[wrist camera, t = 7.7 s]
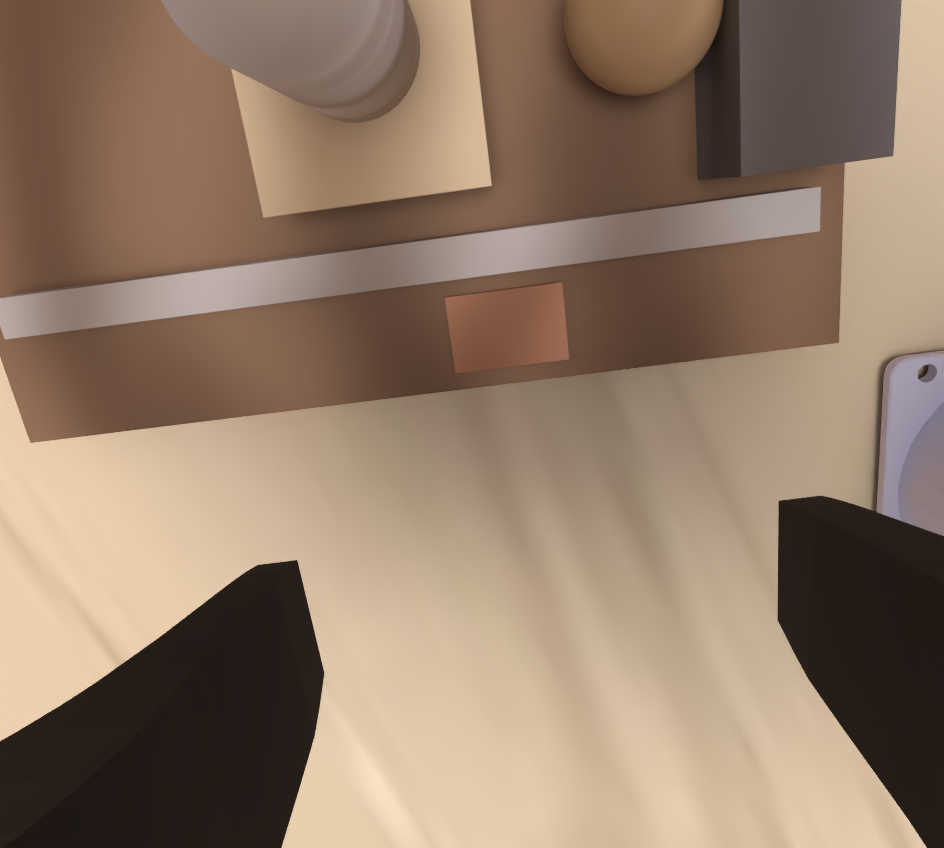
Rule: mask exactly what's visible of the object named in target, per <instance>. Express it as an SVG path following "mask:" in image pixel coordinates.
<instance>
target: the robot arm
mask: <svg viewBox="0 0 944 848" xmlns="http://www.w3.org/2000/svg"><path fill="white" fill-rule="evenodd" d="M927 364H928V372H927V374H926V375H925V376H924V377H923V378H920V379H918V375H917V374H918V372H919V369H920V368H921V367H922V366H924V365H927ZM778 622H779V624H780V626H781V628H782V630H783V632H784V633H785V635H786V637H787V639H788V641H789V643H790V645H791V647H792V649H793V651H794V653H795V655H796V657H797V659H798V661H799V662H800V664H801V666H802V668H803V670H804V672H805V674H806V675H807V677H808V679H809V680H810V682H811V683H812V685H813V686H814V688H815V689H816V691H817V692H818V694H819V695H820V696H821V698H822V699H823V701H824V702H825V703H826V705H827V706H828V708H829V709H830V711H831V712H832V713H833V715H834V716H835V718H836V719H837V721H838V722H839V723H840V725H841V726H842V728H843V729H844V730H845V732H846V733H847V735H848V736H849V737H850V739H851V740H852V742H853V743H854V744H855V746H856V747H857V748H858V750H859V751H860V753H861V754H862V755H863V757H864V758H865V760H866V761H867V762H868V764H869V765H870V767H871V768H872V769H873V771H874V772H875V774H876V775H877V776H878V778H879V779H880V781H881V782H882V783H883V785H884V786H885V788H886V789H887V790H888V792H889V793H890V794H891V796H892V797H893V799H894V800H895V801H896V803H897V804H898V806H899V807H900V808H901V810H902V811H903V813H904V814H905V815H906V817H907V818H908V820H909V821H910V823H911V824H912V826H913V827H914V829H915V830H916V832H917V833H918V835H919V836H920V838H921V839H922V841H923V842H924V844H925V845H926V847H927V848H944V351H936V352H928V353H920V354H911V355H903V356H900V357H897V358H895V359H893V360H892V361H891V362H890V363H889V364H888V365H887V367H886V369H885V372H884V382H883V400H882V419H881V438H880V456H879V475H878V494H877V512H875V511H872V510H869V509H866V508H863V507H860V506H857V505H854V504H851V503H847V502H844V501H841V500H837V499H833V498H829V497H824V496H815V497H807V498H798V499H790V500H782V501H779V534H778ZM323 679H324V670H323V666H322V662H321V658H320V653H319V649H318V645H317V641H316V637H315V633H314V628H313V624H312V620H311V616H310V612H309V607H308V603H307V599H306V595H305V591H304V587H303V582H302V578H301V574H300V570H299V566H298V562H297V560H295V561H287V562H279V563H271V564H263V565H257V566H255V567H254V568H252V569H250V570H249V571H247V572H245V573H244V574H243V575H241V576H240V577H238V578H237V579H235V580H234V581H233V582H231V583H230V584H229V585H227V586H226V587H225V588H223V589H222V590H221V591H219V592H218V593H217V594H215V595H214V596H213V597H212V598H210V599H209V600H208V601H206V602H205V603H204V604H203V605H201V606H200V607H199V608H197V609H196V610H195V611H193V612H192V613H191V614H189V615H188V616H187V617H186V618H184V619H183V620H182V621H180V622H179V623H178V624H176V625H175V626H174V627H172V628H171V629H170V630H169V631H167V632H166V633H165V634H163V635H162V636H161V637H159V638H158V639H157V640H155V641H154V642H152V643H151V644H150V645H148V646H147V647H145V648H144V649H143V650H141V651H140V652H138V653H137V654H136V655H134V656H133V657H131V658H130V659H129V660H127V661H126V662H124V663H123V664H122V665H120V666H119V667H117V668H116V669H114V670H113V671H112V672H110V673H109V674H107V675H106V676H105V677H103V678H102V679H100V680H99V681H98V682H96V683H95V684H93V685H92V686H90V687H89V688H87V689H86V690H84V691H83V692H81V693H79V694H78V695H76V696H75V697H73V698H72V699H70V700H69V701H67V702H65V703H64V704H62V705H61V706H59V707H57V708H56V709H54V710H52V711H51V712H49V713H47V714H46V715H44V716H43V717H41V718H39V719H38V720H36V721H34V722H33V723H31V724H29V725H28V726H26V727H24V728H23V729H21V730H19V731H18V732H16V733H14V734H12V735H11V736H9V737H7V738H5V739H4V740H2V741H0V848H281V847H282V844H283V840H284V837H285V834H286V830H287V827H288V824H289V821H290V817H291V814H292V811H293V807H294V804H295V801H296V797H297V794H298V791H299V788H300V784H301V781H302V777H303V774H304V771H305V767H306V764H307V760H308V757H309V753H310V750H311V746H312V743H313V739H314V736H315V730H316V724H317V719H318V713H319V707H320V700H321V693H322V686H323Z"/></svg>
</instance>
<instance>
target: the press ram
mask: <svg viewBox="0 0 944 848" xmlns="http://www.w3.org/2000/svg"><path fill="white" fill-rule="evenodd" d="M161 1H162V3H163V4H164V6H165V8H166V10H167V12H168V13H169V15H170V16H171V18H172V19H173V21H174V22H175V24H176V25H177V26H178V28H179V29H180V30H181V31H182V32H183V33H184V35H185V36H186V37H187V38H188V39H189V40H190V41H191V42H192V43H193V44H194V45H196V46H197V47H198V48H199V49H200V50H201V51H202V52H204V53H205V54H207V55H208V56H210V57H211V58H213V59H214V60H216V61H217V62H219V63H221V64H223V65H225V66H227V67H229V68H231V70H232V75H233V79H234V84H235V88H236V93H237V98H238V102H239V107H240V112H241V116H242V121H243V125H244V130H245V135H246V139H247V144H248V148H249V153H250V158H251V162H252V167H253V172H254V176H255V181H256V185H257V190H258V195H259V199H260V204H261V208H262V213H263V218H265V217H274V216H284V215H292V214H299V213H306V212H313V211H320V210H327V209H335V208H342V207H349V206H356V205H363V204H370V203H377V202H385V201H392V200H399V199H406V198H413V197H420V196H427V195H435V194H442V193H449V192H456V191H463V190H470V189H478V188H485V187H491V186H492V183H491V175H490V166H489V157H488V149H487V140H486V132H485V123H484V115H483V106H482V98H481V89H480V81H479V72H478V63H477V55H476V46H475V38H474V29H473V21H472V12H471V4H470V0H161Z"/></svg>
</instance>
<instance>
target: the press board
mask: <svg viewBox="0 0 944 848" xmlns="http://www.w3.org/2000/svg"><path fill="white" fill-rule="evenodd" d="M470 4H471V12H472V21H473V29H474V38H475V46H476V55H477V63H478V72H479V81H480V89H481V98H482V106H483V115H484V123H485V132H486V140H487V149H488V157H489V166H490V175H491V183H492V186H491V187H485V188H478V189H470V190H463V191H456V192H449V193H442V194H435V195H427V196H420V197H413V198H406V199H399V200H392V201H385V202H377V203H370V204H363V205H356V206H349V207H342V208H335V209H327V210H320V211H313V212H306V213H299V214H292V215H284V216H274V217H265V218H263V213H262V208H261V204H260V199H259V195H258V190H257V185H256V181H255V176H254V172H253V167H252V162H251V158H250V153H249V148H248V144H247V139H246V135H245V130H244V125H243V121H242V116H241V112H240V107H239V102H238V98H237V93H236V88H235V84H234V79H233V75H232V70H231V68H229V67H227V66H225V65H223V64H221V63H219V62H217V61H216V60H214V59H213V58H211V57H210V56H208V55H207V54H205V53H204V52H202V51H201V50H200V49H199V48H198V47H197V46H196V45H194V44H193V43H192V42H191V41H190V40H189V39H188V38H187V37H186V36H185V35H184V33H183V32H182V31H181V30H180V29H179V28H178V26H177V25H176V24H175V22H174V21H173V19H172V18H171V16H170V15H169V13H168V12H167V10H166V8H165V6H164V4H163V3H162V1H161V0H0V357H1V360H2V363H3V366H4V369H5V371H6V374H7V377H8V380H9V383H10V386H11V389H12V391H13V394H14V397H15V400H16V403H17V406H18V408H19V411H20V414H21V417H22V420H23V423H24V426H25V428H26V431H27V434H28V437H29V440H30V443H33V442H41V441H49V440H57V439H65V438H73V437H81V436H89V435H97V434H105V433H113V432H121V431H129V430H137V429H146V428H154V427H162V426H170V425H178V424H186V423H194V422H202V421H210V420H218V419H226V418H234V417H242V416H250V415H258V414H266V413H275V412H283V411H291V410H299V409H307V408H315V407H323V406H331V405H339V404H347V403H355V402H363V401H371V400H379V399H387V398H395V397H404V396H412V395H420V394H428V393H436V392H444V391H452V390H460V389H468V388H476V387H484V386H492V385H500V384H508V383H516V382H524V381H533V380H541V379H549V378H557V377H565V376H573V375H581V374H589V373H597V372H605V371H613V370H621V369H629V368H637V367H645V366H653V365H662V364H670V363H678V362H686V361H694V360H702V359H710V358H718V357H726V356H734V355H742V354H750V353H758V352H766V351H774V350H782V349H791V348H799V347H807V346H815V345H823V344H831V343H839V317H840V286H841V255H842V224H843V193H844V163H845V162H852V161H860V160H867V159H874V158H881V157H889V156H893V149H894V130H895V111H896V92H897V73H898V54H899V35H900V16H901V0H470Z"/></svg>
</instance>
